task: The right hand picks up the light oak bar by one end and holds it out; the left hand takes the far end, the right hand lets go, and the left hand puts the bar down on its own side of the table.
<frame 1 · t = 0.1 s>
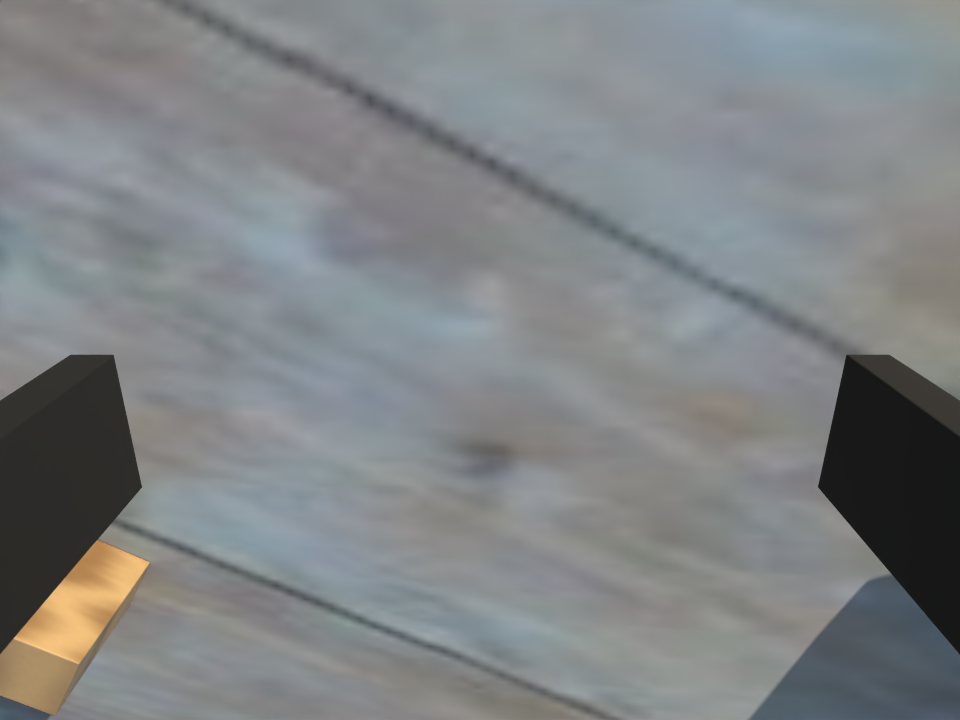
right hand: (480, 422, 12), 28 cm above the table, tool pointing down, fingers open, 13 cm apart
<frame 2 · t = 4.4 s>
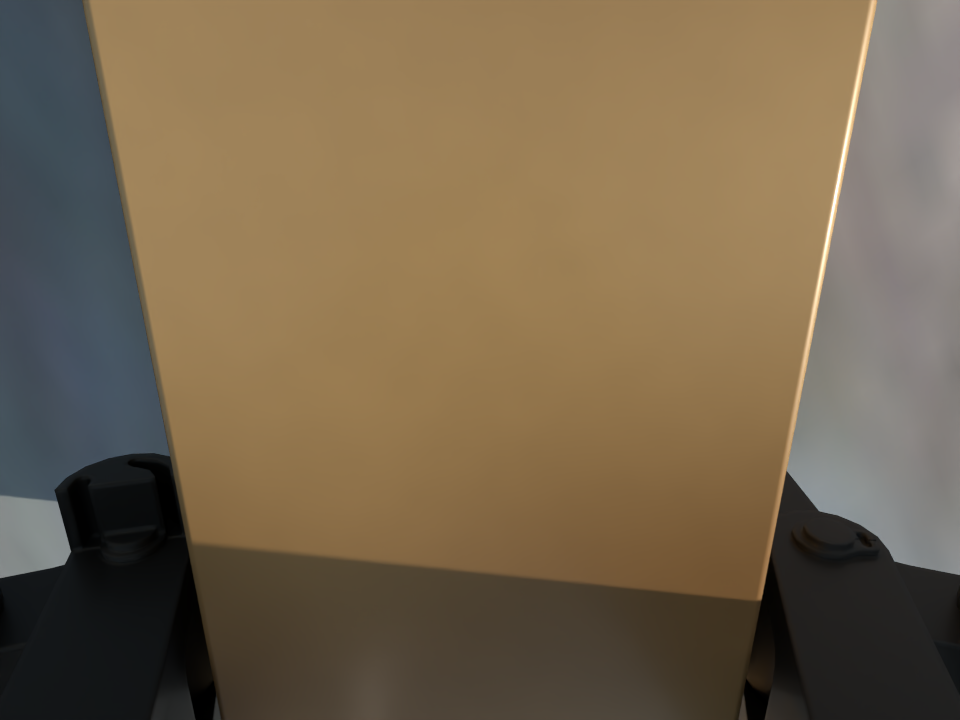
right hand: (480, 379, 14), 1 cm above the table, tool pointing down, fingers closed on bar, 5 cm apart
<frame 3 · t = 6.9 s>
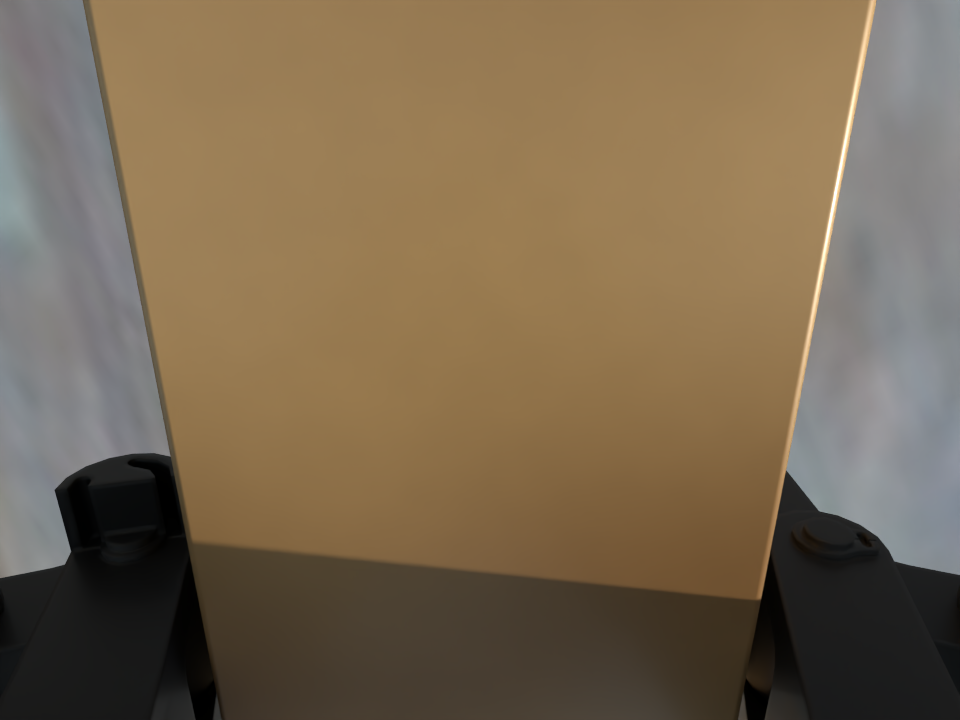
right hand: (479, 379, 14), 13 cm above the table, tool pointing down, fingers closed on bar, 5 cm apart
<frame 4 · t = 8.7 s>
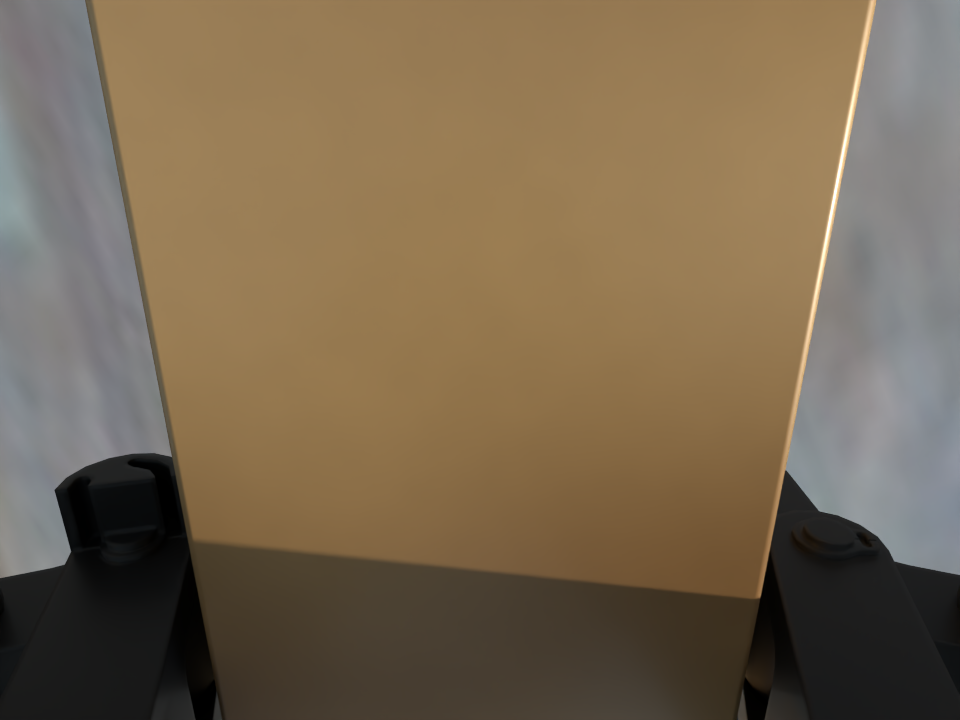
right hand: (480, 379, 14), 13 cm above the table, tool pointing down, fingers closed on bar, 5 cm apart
when the right hand's fingers open (13 cm above the table, at t = 9.5 s): bar stays where it is, held by the left hand.
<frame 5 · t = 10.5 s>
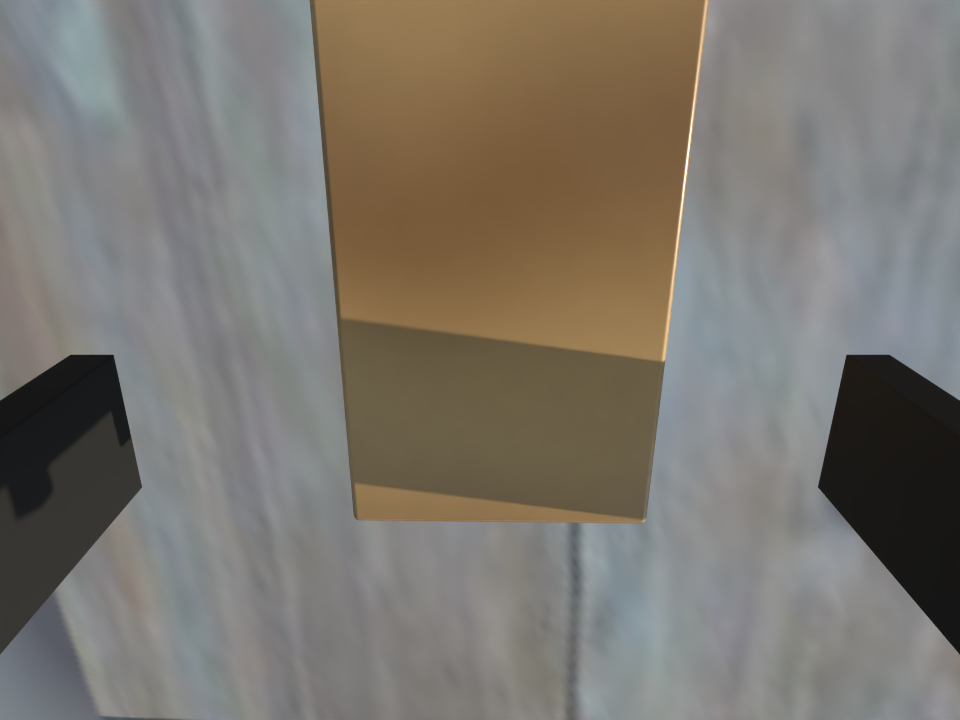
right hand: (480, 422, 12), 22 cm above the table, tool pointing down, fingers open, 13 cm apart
when the left hand's fingers open (4 cm above the table, at t = 15.0 s): bar stays where it is, on the table.
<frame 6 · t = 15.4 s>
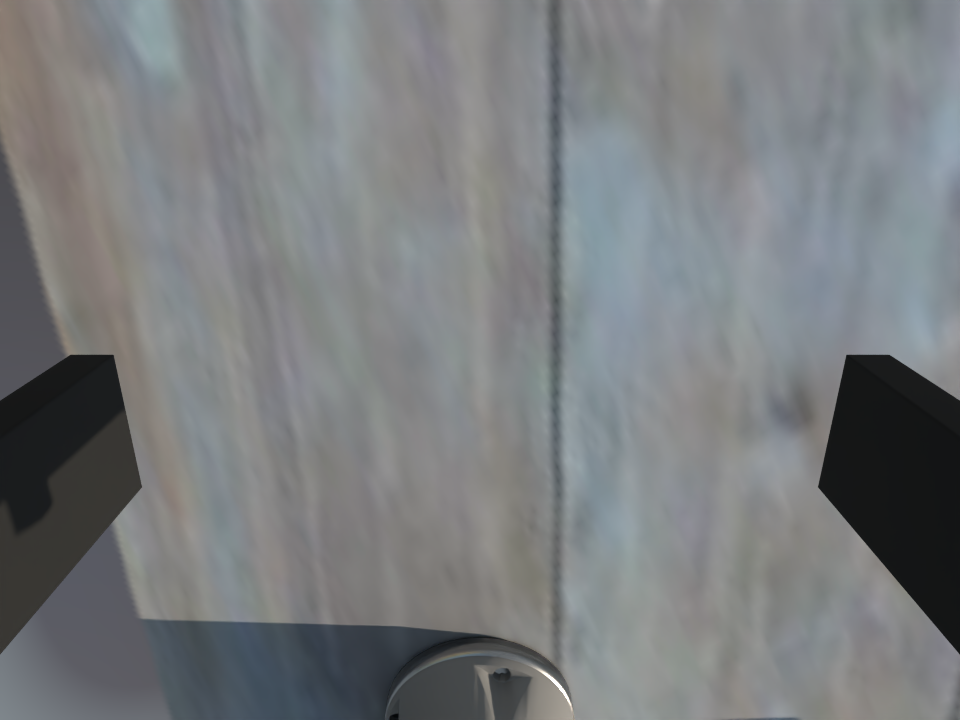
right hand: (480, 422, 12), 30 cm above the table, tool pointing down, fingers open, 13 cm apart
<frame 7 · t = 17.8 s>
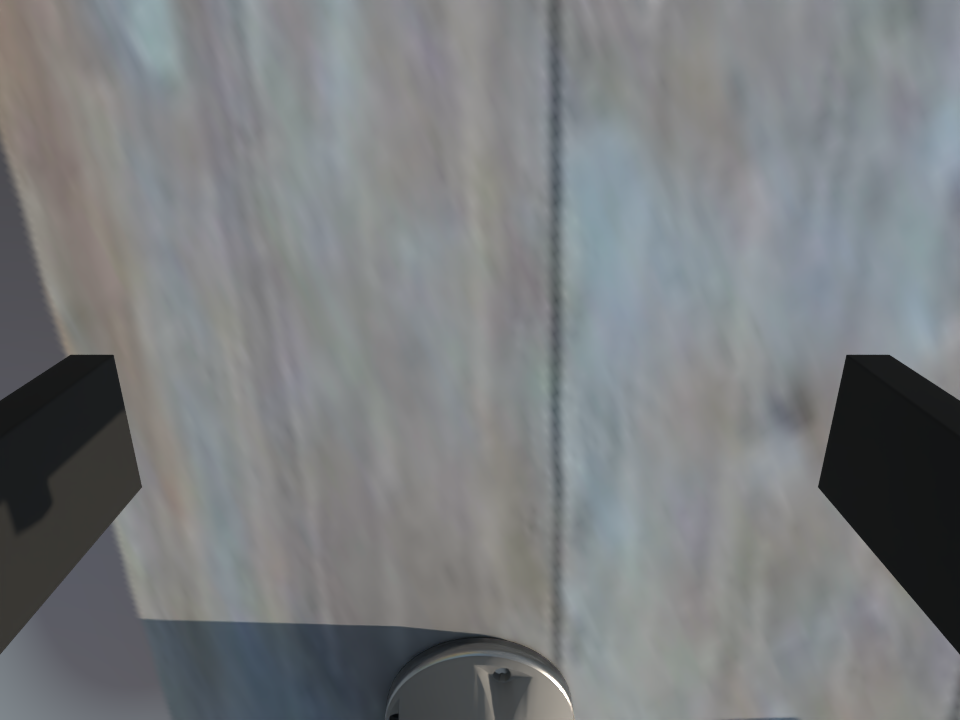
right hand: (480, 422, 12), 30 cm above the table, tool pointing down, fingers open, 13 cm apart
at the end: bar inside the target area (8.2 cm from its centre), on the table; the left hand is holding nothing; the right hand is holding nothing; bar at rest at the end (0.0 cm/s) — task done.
